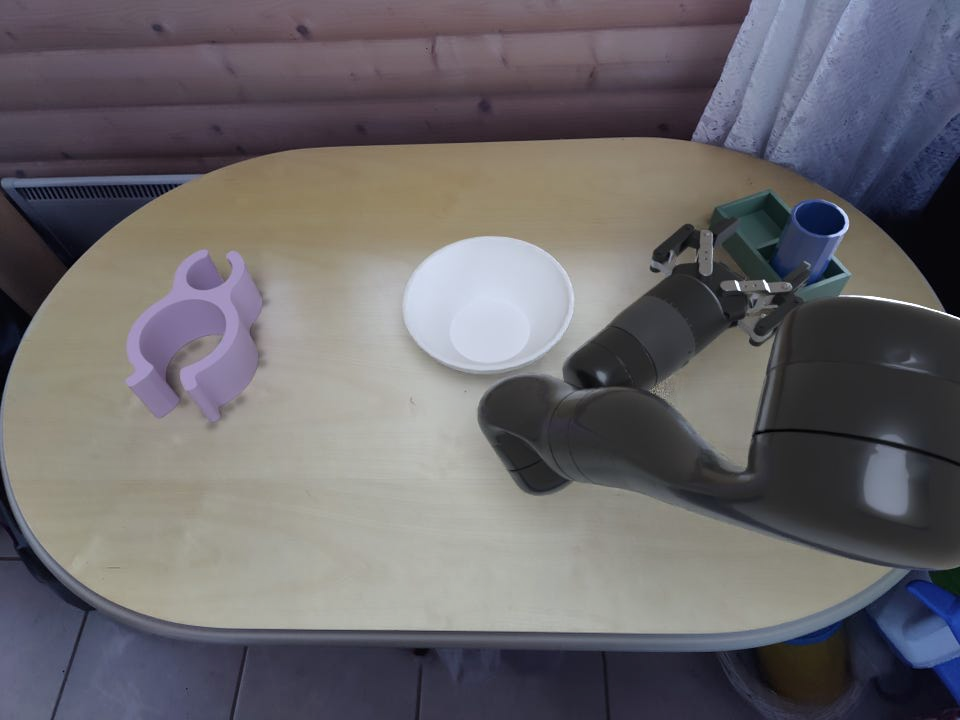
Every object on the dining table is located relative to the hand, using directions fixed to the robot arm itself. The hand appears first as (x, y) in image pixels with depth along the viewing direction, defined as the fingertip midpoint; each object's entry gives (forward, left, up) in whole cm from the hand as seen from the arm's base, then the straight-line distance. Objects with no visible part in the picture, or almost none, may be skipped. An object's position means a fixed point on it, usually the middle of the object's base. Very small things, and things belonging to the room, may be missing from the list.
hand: (769, 245), depth 69 cm
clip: (+54, +32, -15) cm, 65 cm away
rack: (-1, -13, -14) cm, 19 cm away
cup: (-4, -10, -14) cm, 17 cm away
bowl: (+25, +14, -15) cm, 32 cm away
